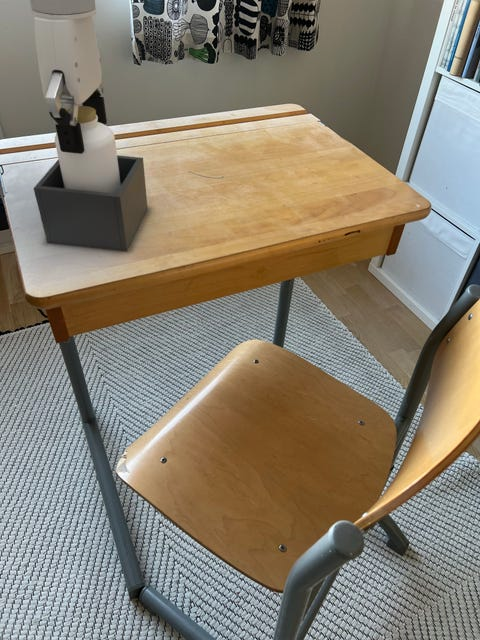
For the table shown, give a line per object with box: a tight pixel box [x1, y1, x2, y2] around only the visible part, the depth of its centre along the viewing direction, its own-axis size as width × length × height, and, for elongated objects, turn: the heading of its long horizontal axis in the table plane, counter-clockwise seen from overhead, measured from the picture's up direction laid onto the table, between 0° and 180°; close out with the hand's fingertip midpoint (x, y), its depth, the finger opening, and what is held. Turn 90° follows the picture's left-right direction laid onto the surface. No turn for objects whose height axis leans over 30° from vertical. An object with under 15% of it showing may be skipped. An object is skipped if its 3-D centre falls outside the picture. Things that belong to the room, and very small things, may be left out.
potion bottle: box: [54, 105, 121, 194], centre depth 77 cm, size 8×8×18 cm
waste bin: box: [33, 154, 149, 253], centre depth 80 cm, size 13×13×10 cm
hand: (85, 137), depth 73 cm, fingers open, 9 cm apart
